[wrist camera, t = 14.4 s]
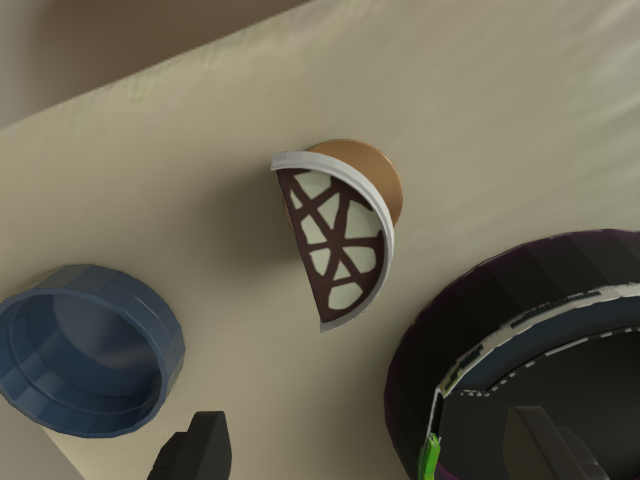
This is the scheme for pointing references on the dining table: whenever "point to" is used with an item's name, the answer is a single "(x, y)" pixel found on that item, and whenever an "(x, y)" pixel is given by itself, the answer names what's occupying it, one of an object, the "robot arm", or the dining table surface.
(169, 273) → the dining table surface
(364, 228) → the food container
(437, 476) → the decorative container
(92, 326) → the bowl
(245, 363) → the dining table surface
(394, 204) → the coaster
